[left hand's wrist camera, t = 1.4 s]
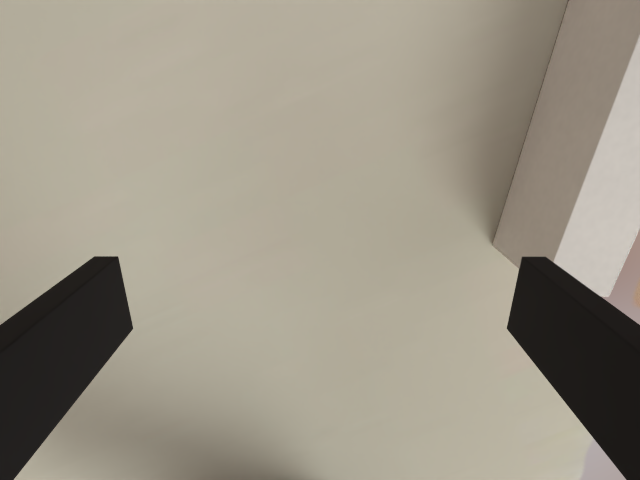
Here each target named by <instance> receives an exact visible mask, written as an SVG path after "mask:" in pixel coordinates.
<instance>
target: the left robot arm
mask: <svg viewBox="0 0 640 480" xmlns="http://www.w3.org/2000/svg"><path fill="white" fill-rule="evenodd" d="M132 329H133V326H132V321H131V316H130V311H129V307H128V302H127V297H126V292H125V288H124V283H123V278H122V273H121V268H120V264H119V259H118V257H93V258H92V259H90V260H89V261H88V262H86V263H85V264H84V265H82V266H81V267H79V268H78V269H77V270H75V271H74V272H73V273H71V274H70V275H68V276H67V277H66V278H64V279H63V280H62V281H60V282H59V283H57V284H56V285H55V286H53V287H52V288H51V289H49V290H48V291H46V292H45V293H44V294H42V295H41V296H40V297H38V298H37V299H35V300H34V301H33V302H31V303H30V304H29V305H27V306H26V307H24V308H23V309H22V310H20V311H19V312H18V313H16V314H15V315H14V316H12V317H11V318H9V319H8V320H7V321H5V322H4V323H3V324H1V325H0V480H14V478H15V477H16V476H17V475H18V473H19V472H20V471H21V470H22V468H23V467H24V466H25V464H26V463H27V462H28V461H29V459H30V458H31V457H32V456H33V454H34V453H35V452H36V451H37V449H38V448H39V447H40V446H41V444H42V443H43V442H44V440H45V439H46V438H47V437H48V435H49V434H50V433H51V432H52V430H53V429H54V428H55V427H56V425H57V424H58V423H59V422H60V420H61V419H62V418H63V416H64V415H65V414H66V413H67V411H68V410H69V409H70V408H71V406H72V405H73V404H74V403H75V401H76V400H77V399H78V398H79V396H80V395H81V394H82V392H83V391H84V390H85V389H86V387H87V386H88V385H89V384H90V382H91V381H92V380H93V379H94V377H95V376H96V375H97V374H98V372H99V371H100V370H101V368H102V367H103V366H104V365H105V363H106V362H107V361H108V360H109V358H110V357H111V356H112V355H113V353H114V352H115V351H116V350H117V348H118V347H119V346H120V344H121V343H122V342H123V341H124V339H125V338H126V337H127V336H128V334H129V333H130V332H131V331H132ZM507 329H508V331H509V332H510V333H511V334H512V336H513V337H514V338H515V339H516V341H517V342H518V343H519V344H520V346H521V347H522V348H523V350H524V351H525V352H526V353H527V355H528V356H529V357H530V358H531V360H532V361H533V362H534V363H535V365H536V366H537V367H538V368H539V370H540V371H541V372H542V374H543V375H544V376H545V377H546V379H547V380H548V381H549V382H550V384H551V385H552V386H553V387H554V389H555V390H556V391H557V392H558V394H559V395H560V396H561V398H562V399H563V400H564V401H565V403H566V404H567V405H568V406H569V408H570V409H571V410H572V411H573V413H574V414H575V415H576V416H577V418H578V419H579V420H580V422H581V423H582V424H583V425H584V427H585V428H586V429H587V430H588V432H589V433H590V434H591V435H592V437H593V438H594V439H595V440H596V442H597V443H598V444H599V445H600V447H601V448H602V449H603V451H604V452H605V453H606V454H607V456H608V457H609V458H610V459H611V461H612V462H613V463H614V464H615V466H616V467H617V468H618V470H619V471H620V472H621V473H622V475H623V476H624V477H625V478H626V480H640V325H639V324H637V323H636V322H635V321H633V320H632V319H631V318H629V317H628V316H626V315H625V314H624V313H622V312H621V311H620V310H618V309H617V308H616V307H614V306H613V305H611V304H610V303H609V302H607V301H606V300H604V299H603V298H602V297H600V296H599V295H598V294H596V293H595V292H594V291H592V290H591V289H589V288H588V287H587V286H585V285H584V284H583V283H581V282H580V281H578V280H577V279H576V278H574V277H573V276H572V275H570V274H569V273H567V272H566V271H565V270H563V269H562V268H561V267H559V266H558V265H556V264H555V263H554V262H552V261H551V260H550V259H548V258H547V257H522V259H521V264H520V268H519V273H518V278H517V283H516V288H515V292H514V297H513V302H512V307H511V311H510V316H509V321H508V326H507Z"/></svg>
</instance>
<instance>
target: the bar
mask: <svg viewBox="0 0 640 480" xmlns="http://www.w3.org/2000/svg"><path fill="white" fill-rule="evenodd" d="M639 229H640V0H569V1H568V4H567V8H566V11H565V14H564V17H563V20H562V23H561V27H560V30H559V33H558V36H557V39H556V43H555V46H554V49H553V52H552V55H551V59H550V62H549V65H548V68H547V71H546V75H545V78H544V81H543V84H542V87H541V91H540V94H539V97H538V100H537V103H536V107H535V110H534V113H533V116H532V119H531V123H530V126H529V129H528V132H527V135H526V139H525V142H524V145H523V148H522V151H521V155H520V158H519V161H518V164H517V167H516V171H515V174H514V177H513V180H512V183H511V187H510V190H509V193H508V196H507V199H506V203H505V206H504V209H503V212H502V215H501V219H500V222H499V225H498V228H497V231H496V234H495V238H494V241H493V244H492V245H493V246H494V247H495V248H496V249H497V250H498V251H499V252H501V253H502V254H503V255H504V256H505V257H506V258H507V259H509V260H510V261H511V262H512V263H513V264H514V265H515V266H517V267H518V268H520V264H521V259H522V257H547V258H548V259H550V260H551V261H552V262H554V263H555V264H556V265H558V266H559V267H561V268H562V269H563V270H565V271H566V272H567V273H569V274H570V275H572V276H573V277H574V278H576V279H577V280H578V281H580V282H581V283H583V284H584V285H585V286H587V287H588V288H589V289H591V290H592V291H594V292H595V293H596V294H598V295H599V296H604V297H609V295H610V293H611V291H612V289H613V287H614V284H615V282H616V280H617V278H618V276H619V273H620V271H621V269H622V267H623V265H624V262H625V260H626V258H627V256H628V254H629V251H630V249H631V247H632V245H633V242H634V240H635V238H636V236H637V234H638V232H639Z"/></svg>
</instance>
